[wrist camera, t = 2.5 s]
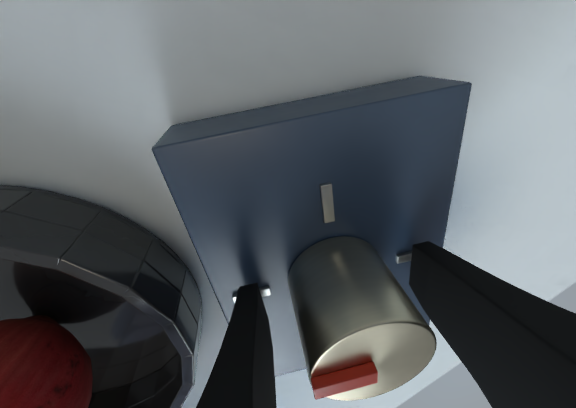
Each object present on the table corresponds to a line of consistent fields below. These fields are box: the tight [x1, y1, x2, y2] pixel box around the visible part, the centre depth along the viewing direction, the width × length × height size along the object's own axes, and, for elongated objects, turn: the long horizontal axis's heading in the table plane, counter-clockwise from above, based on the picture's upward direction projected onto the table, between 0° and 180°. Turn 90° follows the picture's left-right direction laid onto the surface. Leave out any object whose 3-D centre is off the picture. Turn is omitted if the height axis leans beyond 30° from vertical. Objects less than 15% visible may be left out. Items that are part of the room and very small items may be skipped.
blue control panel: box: [152, 76, 472, 376], centre depth 11 cm, size 12×9×3 cm
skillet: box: [0, 185, 202, 408], centre depth 11 cm, size 13×13×3 cm
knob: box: [288, 236, 436, 401], centre depth 9 cm, size 4×4×4 cm
